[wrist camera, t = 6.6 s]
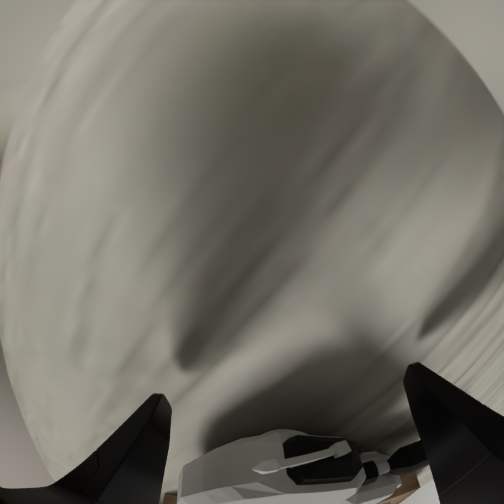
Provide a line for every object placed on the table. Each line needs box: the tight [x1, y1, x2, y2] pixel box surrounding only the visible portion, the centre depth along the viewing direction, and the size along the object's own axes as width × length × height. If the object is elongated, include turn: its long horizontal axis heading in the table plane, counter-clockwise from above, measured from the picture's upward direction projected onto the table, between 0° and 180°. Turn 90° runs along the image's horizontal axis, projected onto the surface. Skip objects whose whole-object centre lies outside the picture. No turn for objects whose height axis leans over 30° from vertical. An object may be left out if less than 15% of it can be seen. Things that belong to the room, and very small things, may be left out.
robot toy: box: [177, 429, 429, 504], centre depth 11 cm, size 12×4×15 cm
